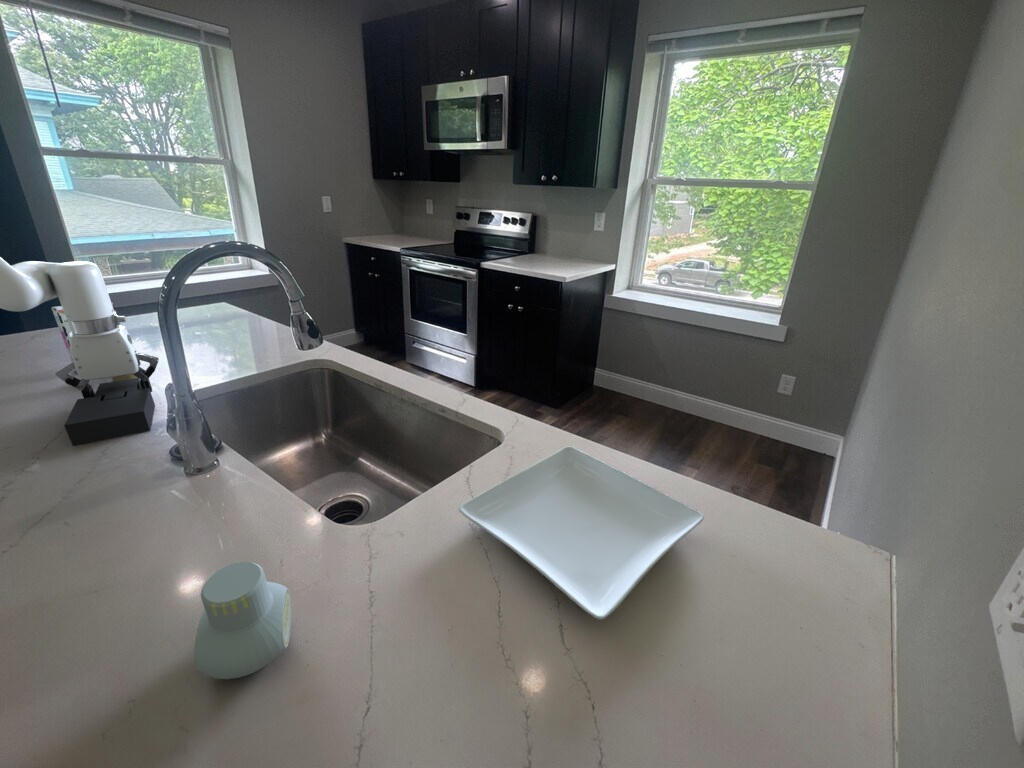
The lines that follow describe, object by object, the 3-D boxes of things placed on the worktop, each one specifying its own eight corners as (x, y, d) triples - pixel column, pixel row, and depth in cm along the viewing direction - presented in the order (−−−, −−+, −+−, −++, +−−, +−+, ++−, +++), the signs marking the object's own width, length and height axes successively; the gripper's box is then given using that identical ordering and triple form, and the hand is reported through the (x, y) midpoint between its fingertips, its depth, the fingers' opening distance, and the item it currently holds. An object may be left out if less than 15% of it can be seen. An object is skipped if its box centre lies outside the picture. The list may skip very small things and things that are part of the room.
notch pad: (72, 445, 88) (63, 425, 86) (85, 418, 97) (77, 399, 95) (150, 430, 94) (143, 411, 92) (155, 406, 103) (149, 387, 101)
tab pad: (98, 420, 97) (91, 401, 95) (106, 401, 104) (99, 383, 102) (140, 413, 100) (134, 394, 98) (145, 395, 107) (139, 377, 106)
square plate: (703, 532, 72) (708, 512, 71) (597, 643, 55) (601, 620, 53) (568, 458, 90) (569, 440, 88) (455, 524, 72) (454, 504, 71)
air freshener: (288, 678, 50) (270, 613, 46) (199, 704, 47) (171, 637, 43) (294, 597, 59) (280, 537, 55) (220, 614, 57) (199, 553, 52)
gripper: (148, 314, 102) (169, 385, 109) (42, 324, 94) (73, 400, 101) (144, 324, 96) (167, 398, 104) (32, 336, 88) (65, 415, 95)
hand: (121, 399), depth 102 cm, fingers open, 9 cm apart
